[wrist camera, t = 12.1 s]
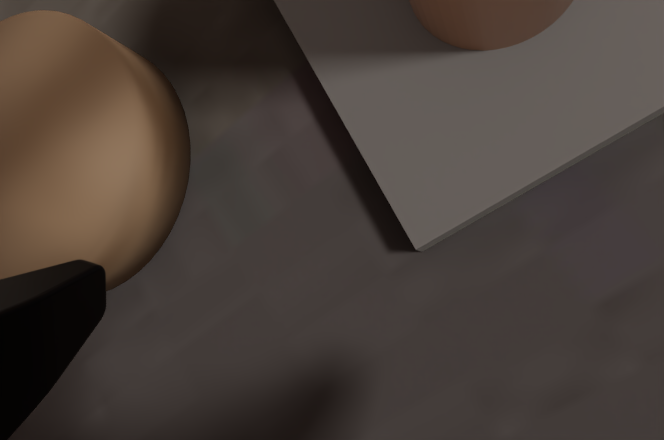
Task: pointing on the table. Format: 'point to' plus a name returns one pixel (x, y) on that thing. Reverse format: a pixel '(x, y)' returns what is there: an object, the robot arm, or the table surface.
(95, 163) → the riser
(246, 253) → the table surface
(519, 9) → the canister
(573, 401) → the table surface
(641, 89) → the mat
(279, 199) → the table surface
